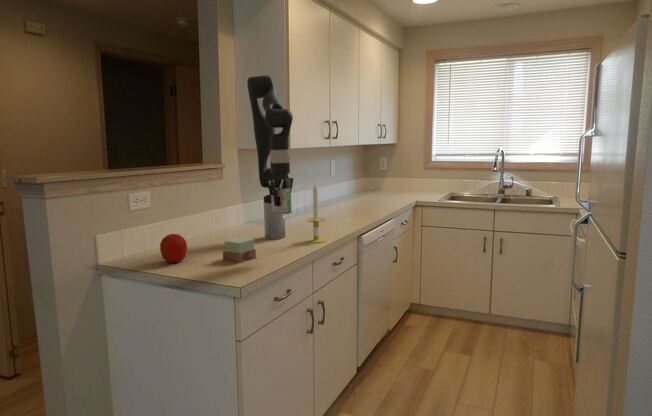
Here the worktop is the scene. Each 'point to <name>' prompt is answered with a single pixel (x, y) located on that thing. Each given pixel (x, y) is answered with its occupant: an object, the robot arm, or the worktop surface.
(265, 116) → the robot arm
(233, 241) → the tower top
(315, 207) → the toy syringe
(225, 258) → the tower base
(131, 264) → the worktop surface
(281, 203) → the ink box
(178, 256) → the apple
